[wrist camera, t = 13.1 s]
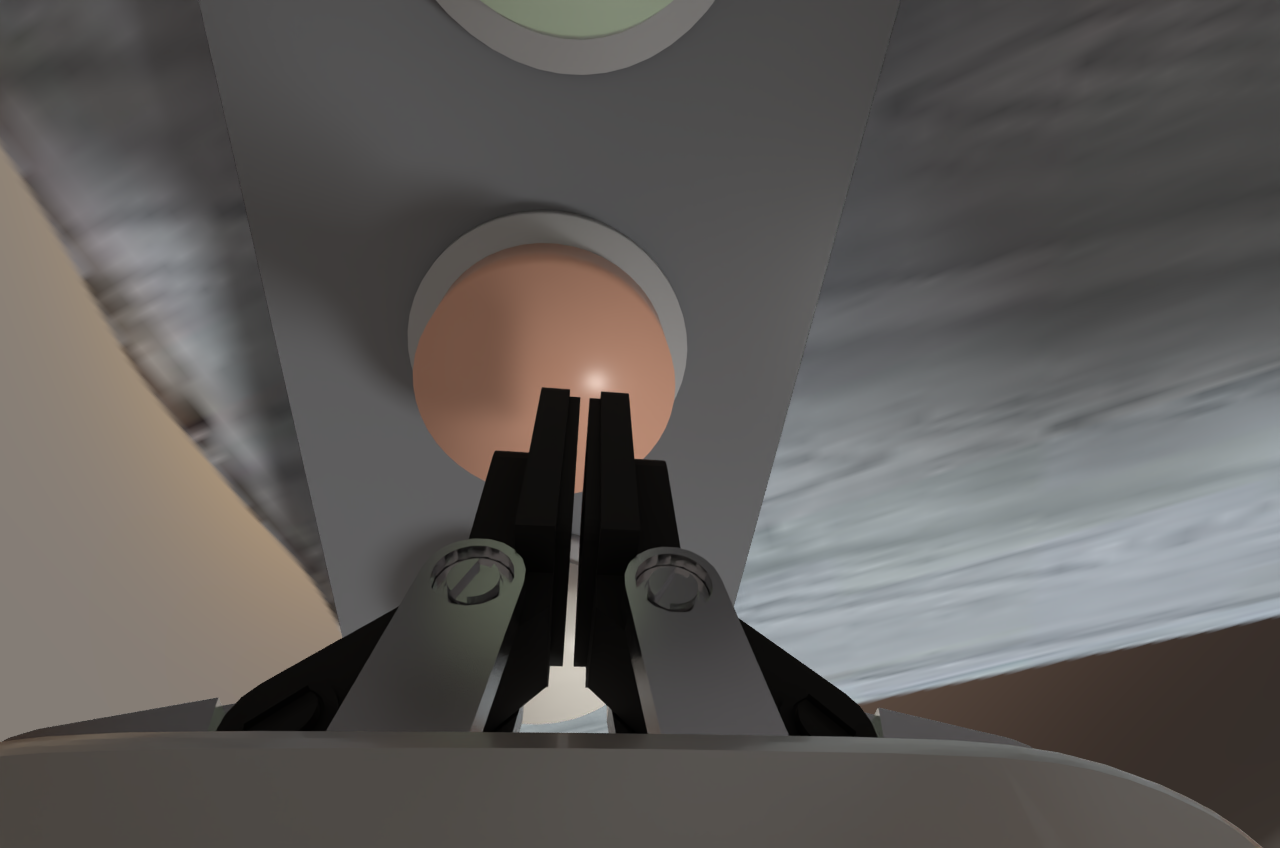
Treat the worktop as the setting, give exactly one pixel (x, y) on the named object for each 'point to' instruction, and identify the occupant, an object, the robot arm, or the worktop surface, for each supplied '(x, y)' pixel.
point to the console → (537, 228)
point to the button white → (564, 677)
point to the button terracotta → (539, 352)
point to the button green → (577, 15)
